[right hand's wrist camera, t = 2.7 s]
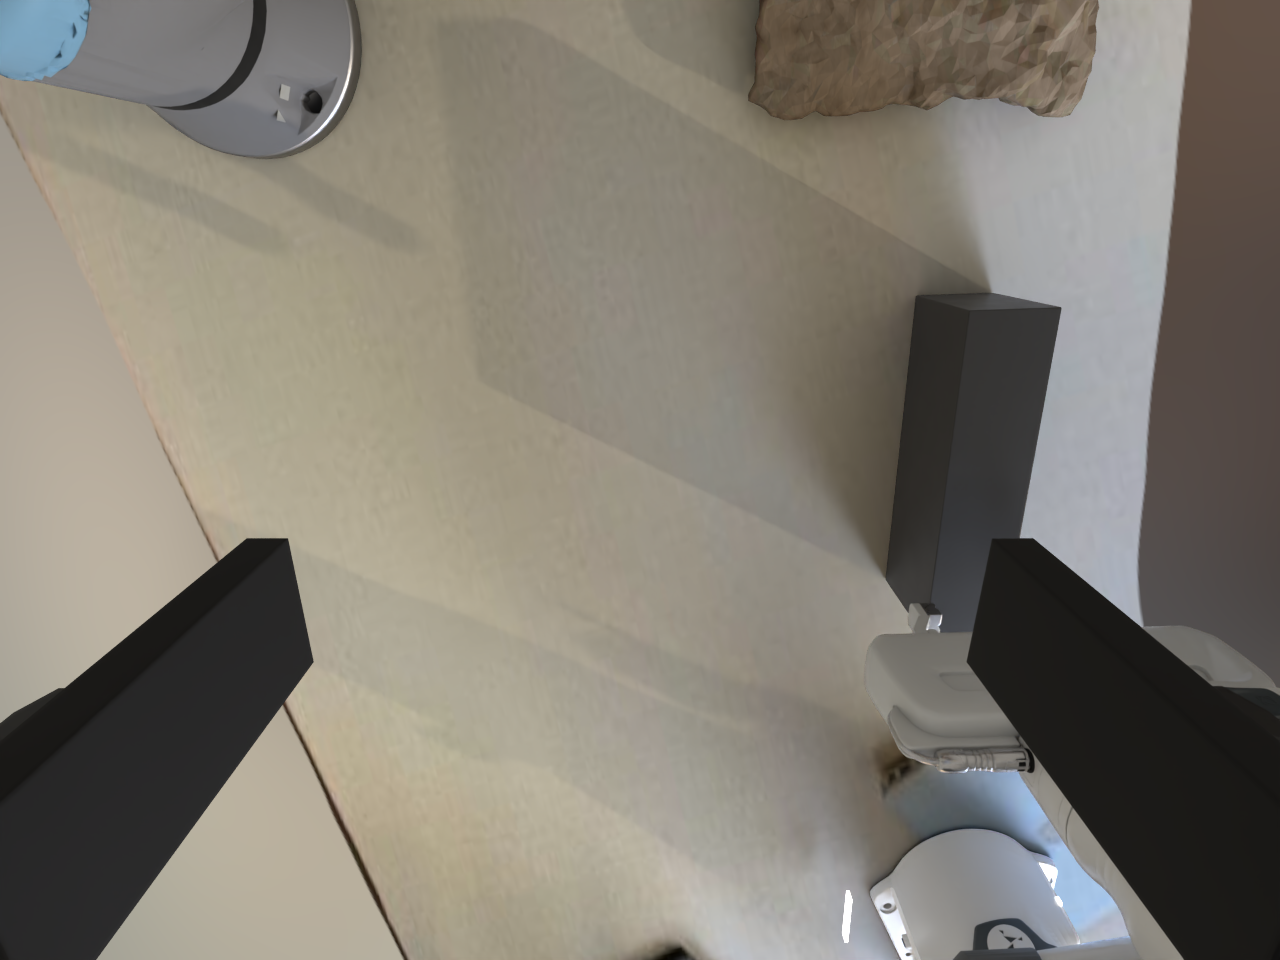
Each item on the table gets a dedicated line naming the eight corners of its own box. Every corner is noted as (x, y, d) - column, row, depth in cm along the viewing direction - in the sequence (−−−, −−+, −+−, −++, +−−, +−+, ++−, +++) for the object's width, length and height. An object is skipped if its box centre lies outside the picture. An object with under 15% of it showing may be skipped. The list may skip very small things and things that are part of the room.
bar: (915, 295, 50) (969, 310, 42) (993, 292, 50) (1062, 307, 42) (885, 579, 59) (925, 638, 50) (951, 577, 59) (1002, 636, 50)
